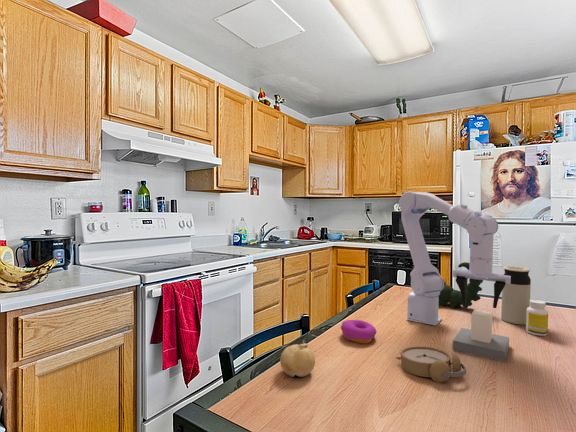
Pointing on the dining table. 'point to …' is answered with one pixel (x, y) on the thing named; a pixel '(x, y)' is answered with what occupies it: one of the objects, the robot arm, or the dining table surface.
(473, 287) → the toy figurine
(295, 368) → the onion
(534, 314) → the supplement bottle
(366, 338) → the donut
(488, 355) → the base block
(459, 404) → the dining table surface
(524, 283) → the travel mug
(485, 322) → the ivory block
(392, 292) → the dining table surface
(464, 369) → the alarm clock
